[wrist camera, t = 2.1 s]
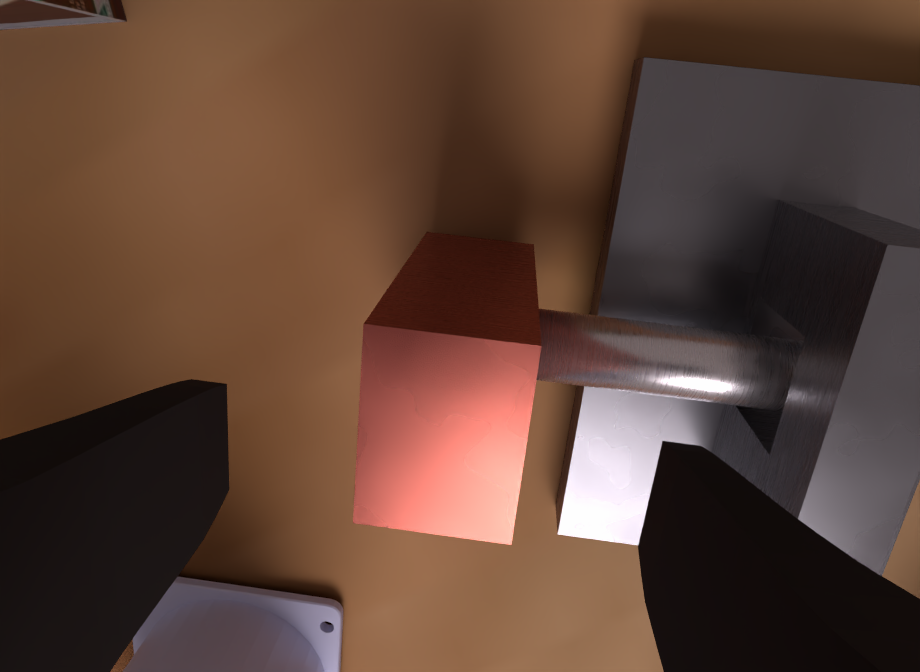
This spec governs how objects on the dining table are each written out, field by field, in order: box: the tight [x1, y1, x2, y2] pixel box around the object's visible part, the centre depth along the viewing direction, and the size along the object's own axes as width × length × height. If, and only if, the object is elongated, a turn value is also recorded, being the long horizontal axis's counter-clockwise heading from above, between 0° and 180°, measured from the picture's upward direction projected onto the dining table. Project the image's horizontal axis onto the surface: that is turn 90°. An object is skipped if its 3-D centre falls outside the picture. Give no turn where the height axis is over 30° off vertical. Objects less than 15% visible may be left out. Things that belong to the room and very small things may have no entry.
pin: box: [353, 232, 803, 545], centre depth 15 cm, size 14×4×8 cm, turn 84°
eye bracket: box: [556, 57, 920, 576], centre depth 17 cm, size 10×14×7 cm
